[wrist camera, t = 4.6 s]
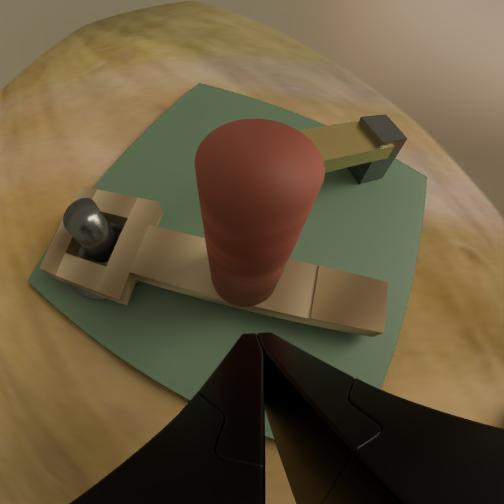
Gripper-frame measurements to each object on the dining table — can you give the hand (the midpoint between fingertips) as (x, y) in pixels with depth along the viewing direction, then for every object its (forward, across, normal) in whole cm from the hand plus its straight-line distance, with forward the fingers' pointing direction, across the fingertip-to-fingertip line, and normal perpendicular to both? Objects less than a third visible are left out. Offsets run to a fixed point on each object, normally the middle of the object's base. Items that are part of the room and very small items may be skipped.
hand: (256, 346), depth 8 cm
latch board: (+11, +1, +1) cm, 11 cm away
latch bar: (+8, -2, -1) cm, 8 cm away
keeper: (+13, +7, +3) cm, 15 cm away
